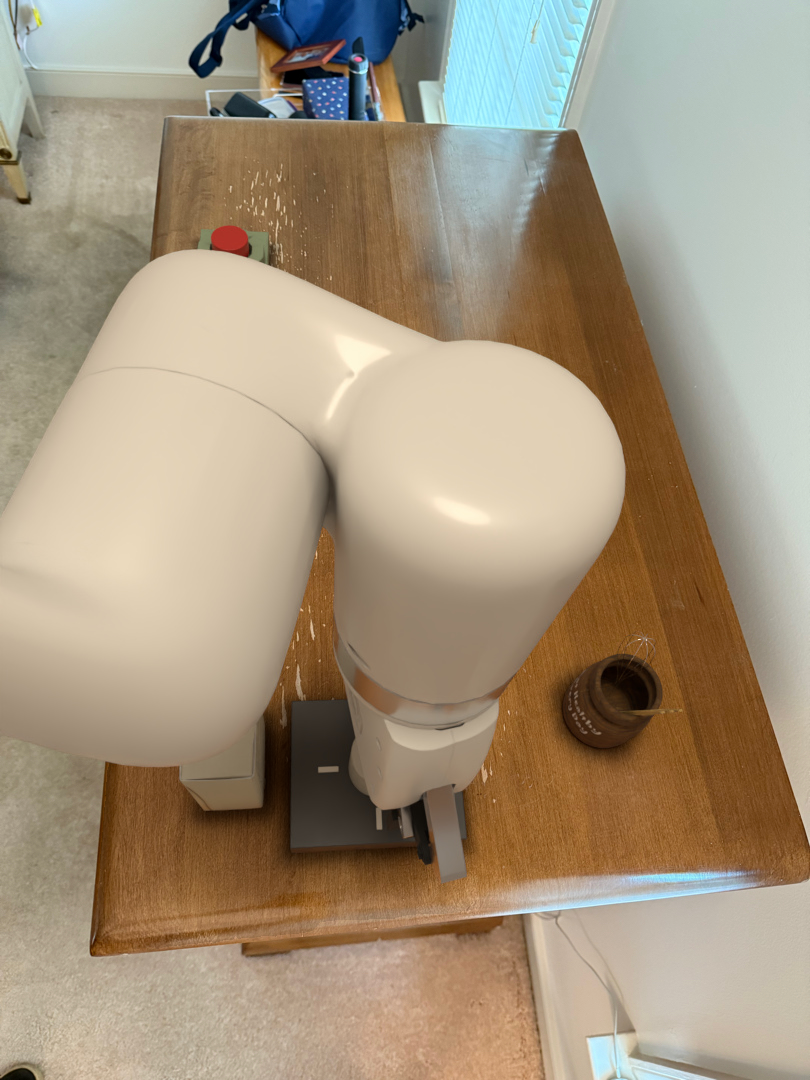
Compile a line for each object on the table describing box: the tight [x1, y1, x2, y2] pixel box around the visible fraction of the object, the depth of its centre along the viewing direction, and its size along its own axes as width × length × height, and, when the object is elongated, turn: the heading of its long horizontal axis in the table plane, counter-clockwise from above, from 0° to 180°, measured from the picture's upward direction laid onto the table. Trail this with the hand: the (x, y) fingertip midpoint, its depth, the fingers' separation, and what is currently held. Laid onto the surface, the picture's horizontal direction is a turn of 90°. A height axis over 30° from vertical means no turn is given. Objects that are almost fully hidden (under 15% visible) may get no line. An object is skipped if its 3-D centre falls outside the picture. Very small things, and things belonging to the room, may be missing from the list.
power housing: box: [197, 227, 271, 266], centre depth 75 cm, size 7×10×4 cm
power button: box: [211, 224, 249, 257], centre depth 73 cm, size 4×4×2 cm
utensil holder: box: [562, 630, 684, 749], centre depth 53 cm, size 6×6×12 cm
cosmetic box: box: [178, 713, 266, 812], centre depth 48 cm, size 6×4×12 cm
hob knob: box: [348, 738, 369, 796], centre depth 50 cm, size 4×4×5 cm
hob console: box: [289, 698, 468, 854], centre depth 53 cm, size 12×10×3 cm
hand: (394, 733), depth 43 cm, fingers open, 9 cm apart
